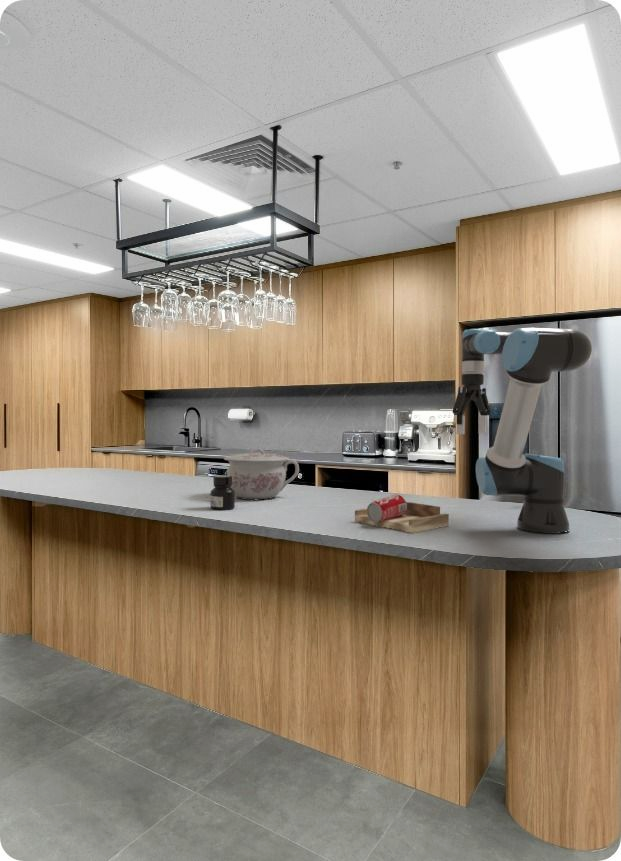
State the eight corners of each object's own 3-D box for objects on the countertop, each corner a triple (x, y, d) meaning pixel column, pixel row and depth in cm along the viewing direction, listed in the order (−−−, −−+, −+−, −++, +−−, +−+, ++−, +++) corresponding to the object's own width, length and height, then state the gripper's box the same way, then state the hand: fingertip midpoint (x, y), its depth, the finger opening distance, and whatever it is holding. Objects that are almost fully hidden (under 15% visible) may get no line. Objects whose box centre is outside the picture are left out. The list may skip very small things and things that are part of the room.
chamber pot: (209, 498, 246) (209, 448, 246) (252, 491, 269) (253, 445, 268) (262, 504, 230) (262, 451, 230) (303, 497, 253) (303, 448, 252)
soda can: (406, 493, 194) (380, 500, 185) (410, 515, 193) (384, 523, 184) (389, 494, 199) (363, 501, 190) (393, 516, 198) (367, 524, 190)
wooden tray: (448, 525, 190) (448, 506, 189) (412, 533, 178) (413, 512, 177) (390, 515, 208) (391, 498, 207) (354, 521, 196) (355, 502, 195)
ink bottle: (206, 507, 223) (206, 475, 222) (228, 505, 227) (229, 474, 227) (216, 511, 214) (216, 478, 214) (238, 509, 218) (238, 477, 218)
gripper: (482, 375, 222) (481, 432, 222) (442, 372, 205) (441, 434, 206) (501, 375, 216) (500, 433, 217) (461, 371, 199) (460, 434, 200)
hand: (471, 433), depth 211 cm, fingers open, 13 cm apart
